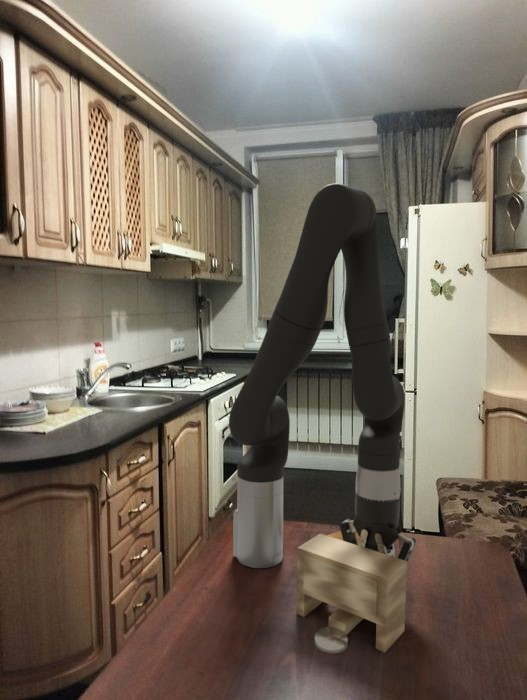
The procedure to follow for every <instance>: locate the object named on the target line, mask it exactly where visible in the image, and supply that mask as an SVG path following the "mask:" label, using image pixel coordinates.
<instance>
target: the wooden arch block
mask: <svg viewBox="0 0 527 700" xmlns="http://www.w3.org/2000/svg"><path fill="white" fill-rule="evenodd" d="M296 555H297V557H296V563H297V564H296V565H297V566H296V615H299V617H300V616H301V617H303V618H305V617H306V616H308V615H309V614H310V613H312V611H313V610H315V609H316V608H318V606H319V605H321V604H322V603H325V604H328V605H329V606H333V607H336V608H337V609H339V608H340V609H342V610H345V611H347V612H350V613H352V614H354V615H357V616H359V617H362V618H364V619H365V620H367V621H369V622H372V623H374V624H376V626H375V627H376V630H375V632H376V633H375V649H376V650H378V651H380V652H381V653H386V652H387V651H388V650H389V649H390V648H391V647H392V645H393V644H394V643H395V642H396V641H397V640H398V639H399V638H400V636H401V635H402V634H403V633H404V632H405V628H406V596H407V595H406V594H407V574H408V573H407V571H408V570H407V566H408V562H407V561H405V560H402V559H399V558H398V557H396V556H395V557H392V556H389V555H386V554H383V553H380V552H377V551H374V550H370V549H367V548H364V547H361V546H358V545H355V544H352V543H349V542H345V541H342V540H339V539H336V538H333V537H330V536H327V534H324V533H319V534H317V535H316V536H314V537H312V538H310V539H309V540H308V541H306V542H304V543H303V544H301V545H299V546H298V547H297V552H296ZM364 619H363V620H364Z"/></svg>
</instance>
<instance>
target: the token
mask: <svg viewBox="0 0 527 700" xmlns="http://www.w3.org/2000/svg"><path fill="white" fill-rule="evenodd" d="M348 642H349V639H348V634H347V635H346V634H345V633H344V632H343V631H342V630H340V629H337V628H332V627H329V626H327V627H321V628H320V629H318V630H317V631H316V632H315V634H314V645H315V647H316V648H317V649H318V650H319V651H322V652H324V653H328V654H339V653H342V652H344V651H346V649H347V648H348V645H349V644H348Z"/></svg>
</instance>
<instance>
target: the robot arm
mask: <svg viewBox="0 0 527 700" xmlns="http://www.w3.org/2000/svg"><path fill="white" fill-rule="evenodd" d="M377 215H378V214H377V208H376V204H375V202H374V200H373V198H372V196H370V194H368V193H367V192H366V191H364V190H362V189H360V188H357V187H353V186H349V185H347V184H342V183H330V184H327V185H325V186H322V188H320V190H318V192H317V193H316V194H315V195H314V196H313V198H312V201H311V203H310V205H309V208H308V210H307V212H306V216H305V220H304V222H303V223H304V224H303V226H302V230H301V235H300V238H299V241H298V246H297V249H296V253H295V256H294V258H293V262H292V264H291V267H290V269H289V272H288V275H287V276H286V277H287V278H286V280H285V283H284V284H283V288H282V291H281V294H280V296H279V297H278V298H279V299H278V300H277V302H276V305H275V307H274V310H273V311H272V314H271V317H270V320H269V323H268V325H267V329H266V332H265V334H264V336H263V339H262V343H261V345H260V346H259V350H258V352H257V353H256V357H255V359H254V361H253V364H252V366H251V368H250V370H249V373H248V375H247V377H246V378H245V380H244V383H243V385H242V386H241V389H240V391H239V392H238V394H237V397H236V398H235V400H234V402H233V404H232V406H231V410H230V412H229V417H228V426H229V427H228V429H229V432H230V435H231V436H232V438H233V440H234V441H235V442H236V443H238V444H239V445H243V446H249V448H248V450H247V451H246V453H244V455H243V456H241V458H240V459H239V460H238V462H237V470H236V471H237V473H236V474H237V478H236V479H237V482H236V484H237V486H236V489H237V496H236V497H237V500H236V501H237V502H236V503H237V505H236V506H237V507H236V508H237V509H235V510H233V514H232V517H233V518H232V522H233V523H232V525H233V526H232V528H233V534H232V535H233V536H232V537H233V539H232V543H233V545H232V550H233V551H232V553H233V554H232V556H233V557H234V558H236V559H237V561H238V562H239V563H240V564H241V565H243V566H246V567H249V568H253V569H267V568H272V567H275V566H277V565H279V564H280V563H281V562H282V561H283V556H284V555H283V554H284V553H283V552H284V551H283V550H284V549H283V548H284V473H285V472H284V470H285V466H286V464H287V462H288V461H287V460H288V458H289V457H288V456H289V447H290V446H289V445H290V443H289V442H290V430H291V429H290V428H291V426H290V421H291V419H290V413H289V409H288V406H287V404H286V401H284V399H283V398H282V397H280V396H279V395H278V394H279V392H280V391H281V389H282V387H283V386H284V384H285V383H287V381H288V380H289V378H290V377H291V376H292V375H293V374H294V373H295V372H296V371H297V369H299V367H300V366H301V365H302V364H303V363H304V362H305V360H306V359H307V358H308V357H309V355H310V354H311V352H312V350H313V349H314V346H315V345H316V342H317V340H318V338H319V336H320V335H321V334H320V333H321V331H322V328H323V326H324V324H325V321H326V319H327V318H326V317H327V313H328V302H329V301H328V299H329V282H330V278H331V277H330V276H331V273H332V270H333V267H334V265H335V263H336V260H337V259H338V256H339V254H340V252H341V253H342V254H341V255H342V256H343V261H344V267H345V268H344V269H345V290H344V291H345V292H344V301H343V302H344V303H343V319H344V326H345V333H346V337H347V342H348V347H349V352H350V354H351V374H352V377H351V378H352V379H351V380H352V390H353V397H354V400H355V404H356V407H357V409H358V410H359V412H360V414H362V416H363V417H364V419H363V428H362V430H361V433H360V434H359V437H358V442H357V443H358V445H357V448H358V449H357V468H356V472H355V473H356V474H355V499H354V503H355V504H354V515H355V517H354V519H353V520H352V519H351V518H347V519H345V520H343V521H342V522H340V523H339V530H340V531H341V534H342V538H343V541H345V542H349V543H352V544H355V545H358V546H361V547H364V548H365V547H369V548H375V549H376V550H378V551H379V552H380V553H383V554H386V555H389V556H392V557H396V555H395V554H396V549H395V542H396V541H398V548H399V549H400V551H399V553H398V556H397V558H399V559H402V560H405V561H407V563H408V562H409V560H410V557H411V555H412V552H413V550H414V549H415V548H414V547H415V545H416V543H417V541H416V539H415V538H414V537H413V536H412V537H411V536H410V537H408V536H407V535H405V534H403V533H402V530H401V527H400V525H399V524H400V523H399V520H400V508H401V507H400V503H401V491H402V488H401V473H400V465H401V464H400V461H401V460H400V459H401V458H400V457H401V456H400V455H401V454H400V453H401V448H400V447H401V445H400V444H401V443H400V440H401V439H400V438H401V430H402V426H403V418H404V411H405V390H404V387H403V384H402V382H400V380H399V379H398V378H397V377H395V376H394V375H393V372H392V371H393V370H392V365H391V357H392V353H393V347H392V345H393V344H392V339H391V335H390V330H389V329H390V328H389V324H388V319H387V314H386V313H387V312H386V309H385V303H384V298H383V290H382V285H381V283H382V282H381V274H380V261H379V260H380V259H379V249H378V248H379V246H378V245H379V244H378V220H377V219H378V218H377ZM355 529H356V531H357V533H358V535H359V537H360V540H359V543H357V539H356V536H355V532H354V531H355ZM387 549H388V551H386V550H387Z"/></svg>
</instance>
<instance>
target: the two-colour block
mask: <svg viewBox="0 0 527 700" xmlns="http://www.w3.org/2000/svg"><path fill="white" fill-rule="evenodd" d="M365 548H367V549H370V550H374V551H377V552H379V551H378V550H376V549H375V548H369V547H365ZM386 551H388V549H387V550H386ZM363 620H364V618H362V617H359V616H357V615H354V614H352V613H350V612H347V611H345V610H342V609H340V608H337V609H336V610H335V611H334V612H333V613H331V614H330V615H329V616H328V627H332V628H337V629H340V630H342V631H343V632H344V633H345V634H346V635H347V636H348V634H349V633H350V632H351V631H352V630H353V629H354V628H355V627H356V626H357V625H359V624H360V623H361V621H363Z"/></svg>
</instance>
